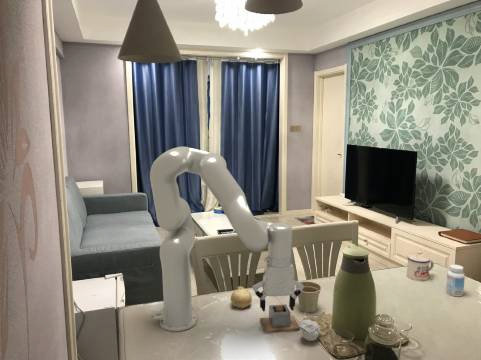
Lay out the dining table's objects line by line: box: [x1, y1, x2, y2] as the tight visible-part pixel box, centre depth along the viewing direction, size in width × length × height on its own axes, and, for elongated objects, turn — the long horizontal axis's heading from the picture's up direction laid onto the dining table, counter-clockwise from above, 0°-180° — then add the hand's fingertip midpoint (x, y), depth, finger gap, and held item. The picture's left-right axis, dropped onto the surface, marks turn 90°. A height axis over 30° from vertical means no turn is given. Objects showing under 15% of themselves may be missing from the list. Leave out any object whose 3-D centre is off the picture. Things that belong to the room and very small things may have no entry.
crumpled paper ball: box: [299, 318, 321, 342], centre depth 124 cm, size 6×7×7 cm
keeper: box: [259, 306, 301, 334], centre depth 133 cm, size 12×8×6 cm, turn 97°
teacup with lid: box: [406, 250, 435, 282], centre depth 171 cm, size 12×9×12 cm
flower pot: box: [295, 280, 322, 313], centre depth 144 cm, size 9×9×9 cm
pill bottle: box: [445, 264, 466, 297], centre depth 155 cm, size 6×6×11 cm
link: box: [268, 303, 291, 328], centre depth 133 cm, size 6×6×5 cm
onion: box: [230, 285, 253, 309], centre depth 147 cm, size 8×8×7 cm
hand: (277, 308), depth 133 cm, fingers open, 9 cm apart
